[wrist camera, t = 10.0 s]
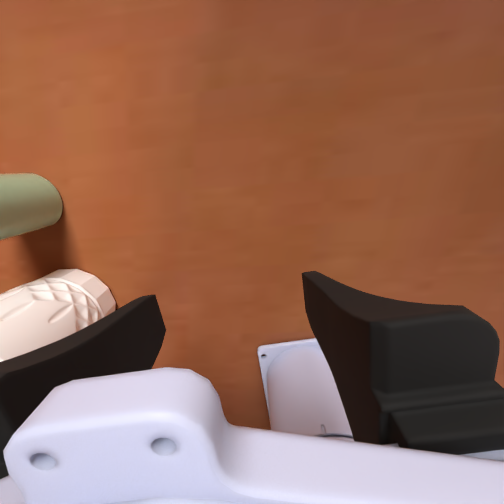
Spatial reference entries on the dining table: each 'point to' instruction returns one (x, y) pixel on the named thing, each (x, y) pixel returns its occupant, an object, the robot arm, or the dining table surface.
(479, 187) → the dining table surface
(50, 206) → the salt shaker
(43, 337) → the white cup
